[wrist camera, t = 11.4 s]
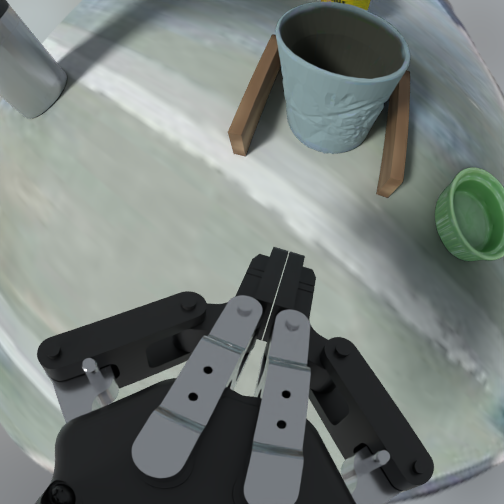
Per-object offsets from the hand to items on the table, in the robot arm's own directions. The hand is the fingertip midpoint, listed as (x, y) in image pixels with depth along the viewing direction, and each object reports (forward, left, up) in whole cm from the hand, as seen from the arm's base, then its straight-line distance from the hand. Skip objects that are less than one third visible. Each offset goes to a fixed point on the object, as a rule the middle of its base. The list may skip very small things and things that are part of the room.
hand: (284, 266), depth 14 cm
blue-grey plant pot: (0, +17, -12) cm, 21 cm away
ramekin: (+17, +11, -12) cm, 24 cm away
